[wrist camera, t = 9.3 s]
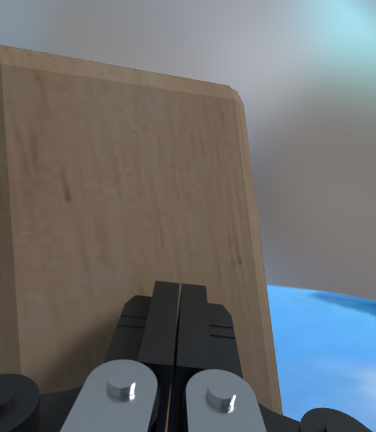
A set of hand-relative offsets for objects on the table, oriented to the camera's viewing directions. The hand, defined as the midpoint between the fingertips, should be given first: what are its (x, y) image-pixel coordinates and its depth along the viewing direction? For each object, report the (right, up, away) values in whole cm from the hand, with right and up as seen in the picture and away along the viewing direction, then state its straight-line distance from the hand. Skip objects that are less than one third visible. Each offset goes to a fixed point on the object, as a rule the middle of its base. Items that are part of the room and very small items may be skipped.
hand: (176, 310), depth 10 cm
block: (-2, -13, +4) cm, 13 cm away
